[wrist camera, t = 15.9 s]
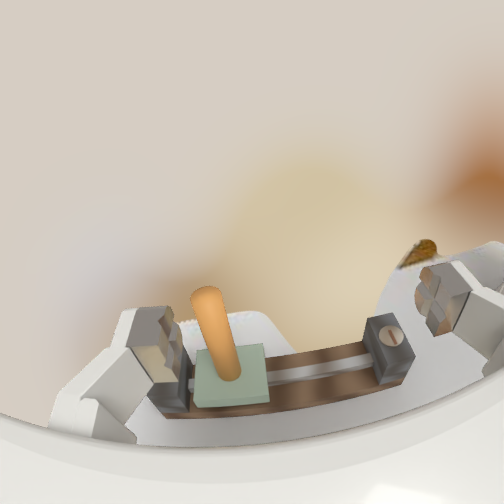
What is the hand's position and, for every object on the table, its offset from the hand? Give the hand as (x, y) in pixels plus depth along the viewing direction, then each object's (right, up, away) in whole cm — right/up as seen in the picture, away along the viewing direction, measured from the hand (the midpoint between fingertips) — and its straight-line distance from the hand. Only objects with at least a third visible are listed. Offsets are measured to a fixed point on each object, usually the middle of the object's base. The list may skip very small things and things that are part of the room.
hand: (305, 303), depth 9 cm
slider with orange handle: (-4, -15, +27) cm, 31 cm away
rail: (+3, -17, +28) cm, 33 cm away
